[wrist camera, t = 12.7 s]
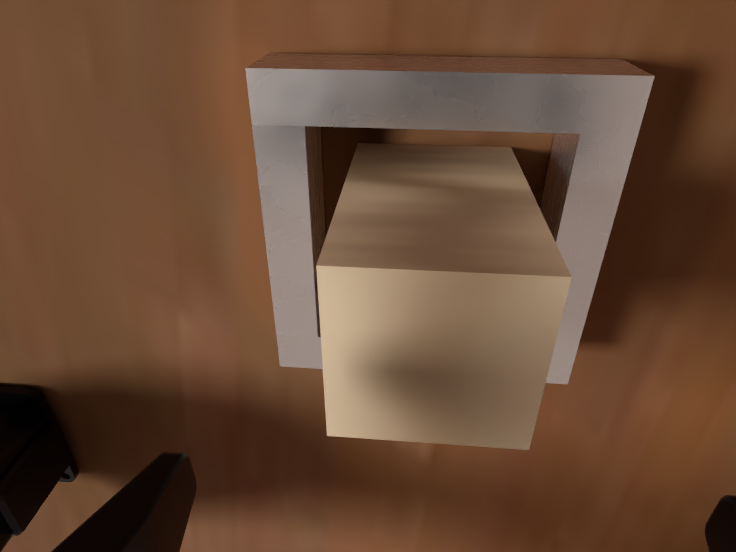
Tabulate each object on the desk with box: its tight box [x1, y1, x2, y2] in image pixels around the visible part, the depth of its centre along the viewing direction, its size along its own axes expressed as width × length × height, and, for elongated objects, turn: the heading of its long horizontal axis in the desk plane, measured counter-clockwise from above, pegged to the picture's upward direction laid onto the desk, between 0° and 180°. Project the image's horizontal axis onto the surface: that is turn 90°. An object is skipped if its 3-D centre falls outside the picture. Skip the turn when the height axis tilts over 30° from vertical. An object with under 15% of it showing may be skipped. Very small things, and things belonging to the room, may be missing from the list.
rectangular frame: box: [245, 53, 655, 384], centre depth 17 cm, size 10×10×2 cm
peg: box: [316, 143, 572, 450], centre depth 15 cm, size 5×5×8 cm
